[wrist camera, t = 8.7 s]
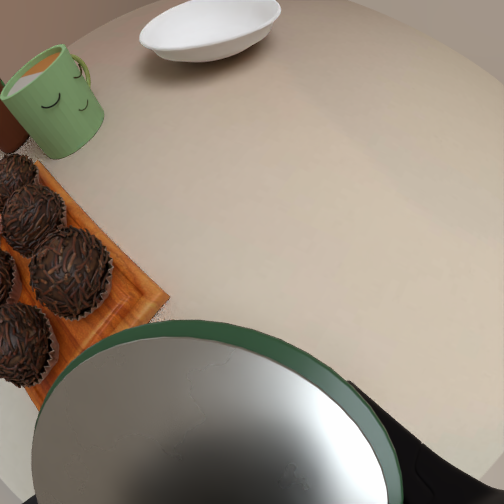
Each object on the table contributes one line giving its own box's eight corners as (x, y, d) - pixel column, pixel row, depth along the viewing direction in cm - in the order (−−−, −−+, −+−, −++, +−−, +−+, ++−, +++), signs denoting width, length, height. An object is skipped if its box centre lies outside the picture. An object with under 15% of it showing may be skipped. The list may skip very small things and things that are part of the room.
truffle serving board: (-26, 257, 30) (-67, 230, 23) (44, 166, 34) (9, 127, 27) (62, 430, 21) (-6, 432, 13) (171, 297, 25) (121, 257, 17)
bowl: (130, 68, 41) (116, 37, 35) (223, 16, 45) (217, -13, 39) (206, 106, 34) (192, 63, 28) (312, 42, 38) (311, 5, 32)
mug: (77, 161, 33) (25, 94, 22) (35, 157, 36) (-11, 103, 25) (128, 93, 38) (95, 26, 27) (81, 96, 40) (48, 41, 29)
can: (344, 444, 13) (460, 562, 2) (238, 492, 13) (130, 645, 1) (289, 347, 16) (277, 236, 4) (187, 397, 15) (-14, 388, 4)
